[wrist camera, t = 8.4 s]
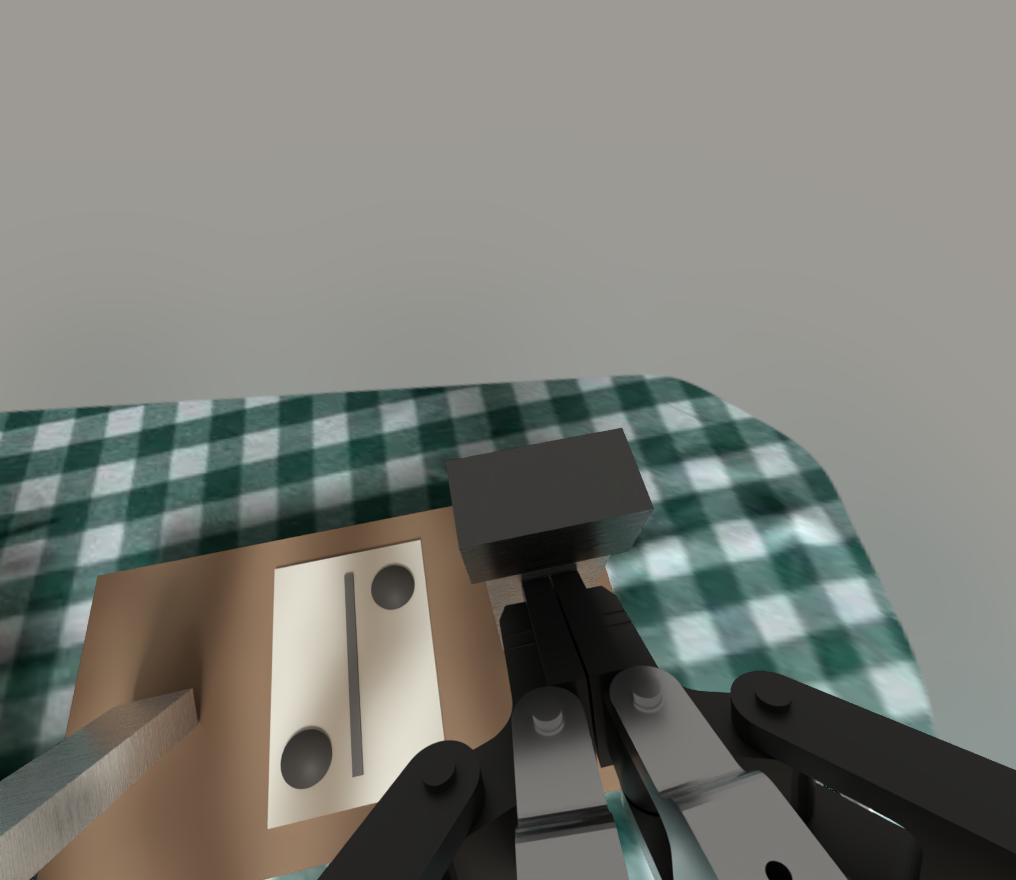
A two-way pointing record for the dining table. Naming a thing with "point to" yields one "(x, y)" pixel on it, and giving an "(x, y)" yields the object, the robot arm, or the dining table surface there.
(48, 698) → the dining table surface
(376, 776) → the switch unit
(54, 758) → the lever
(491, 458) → the lever
